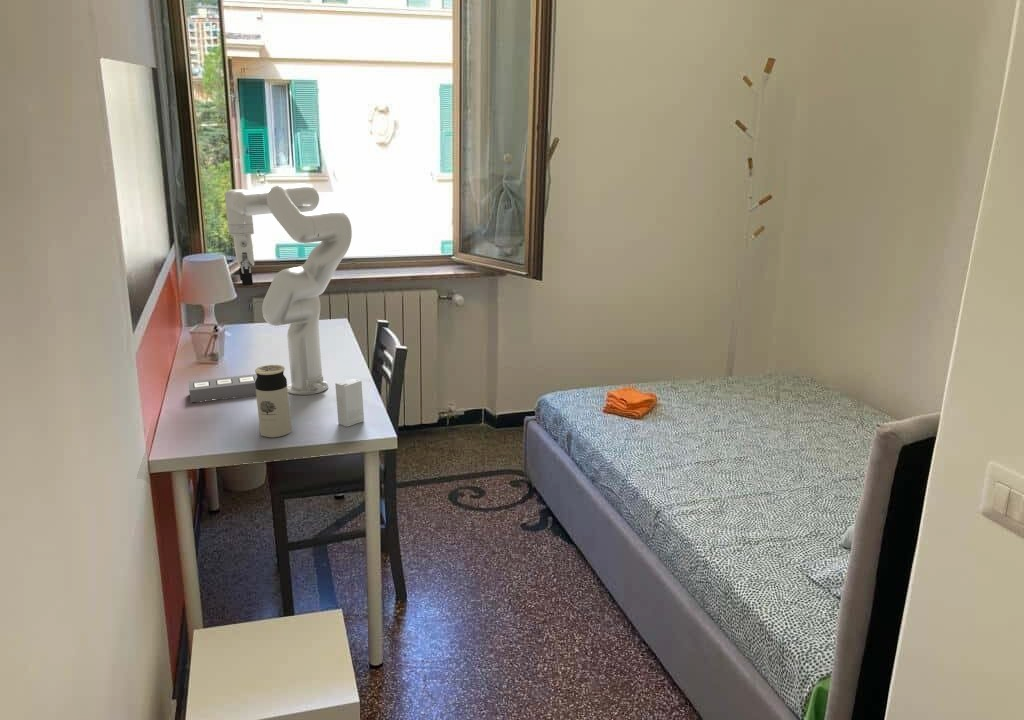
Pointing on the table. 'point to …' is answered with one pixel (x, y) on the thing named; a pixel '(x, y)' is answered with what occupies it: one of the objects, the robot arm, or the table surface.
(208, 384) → the button
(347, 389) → the skincare box
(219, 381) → the middle button
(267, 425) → the travel mug
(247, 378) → the button
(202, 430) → the table surface
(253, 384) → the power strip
